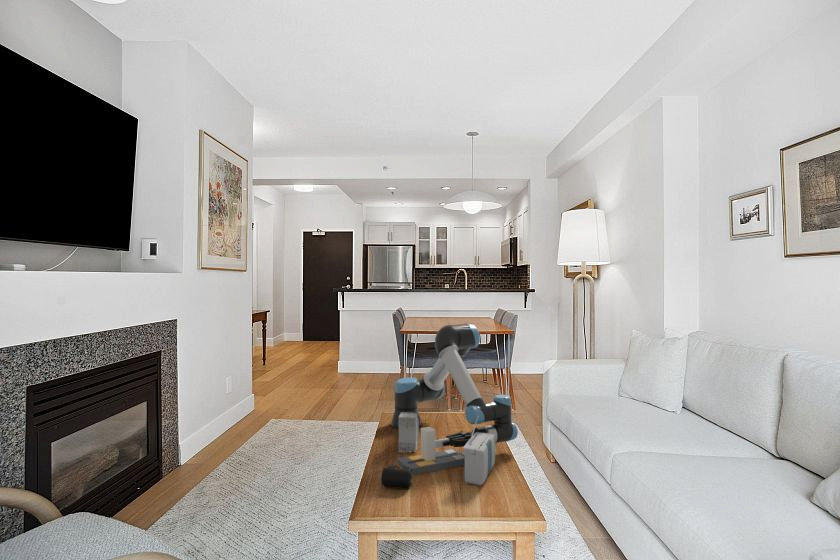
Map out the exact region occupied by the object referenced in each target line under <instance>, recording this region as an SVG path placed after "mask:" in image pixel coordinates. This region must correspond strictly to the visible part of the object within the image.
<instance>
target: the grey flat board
mask: <svg viewBox="0 0 840 560" xmlns="http://www.w3.org/2000/svg"><path fill="white" fill-rule="evenodd" d="M396 463H397V464H398V465H399V466H400V467H401V468H403V467H405V466H406V467H411V468H412V473H411V476H415V475H420V474H425V473H430V472H436V471H439V470H440V471H441V470H445V469H447V470H448V469H451V468H452V469H453V468H456V467H463V466H465V454H463V453H461V452H460V451H458V450H457V449H455V448H450V449H444V450H443V449H442V450H440V451H439V450H438V451H436V460H432V461H427V462H426V461H425V460H424V459H422V458H421V453H420V454H415V455H410V456H404V457H399V458H396ZM397 464H396V465H397ZM398 465H397V466H398ZM399 466H398V467H399ZM400 467H399V468H400ZM401 468H400V469H401Z"/></svg>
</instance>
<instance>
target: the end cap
mask: <svg viewBox="0 0 840 560" xmlns="http://www.w3.org/2000/svg"><path fill="white" fill-rule="evenodd" d="M411 473H412V468H411V467H406V466H405V467H403V468H402V469H401V468H397V465H388V466H387V467H383V468H382V471H381V478H380V481H381V485H382V486H383V487H384V488H385V487H387V488H392V489H393V488H396V489H405V490H410V488H411V487H412V484H413V483H412V480H413V475H411Z"/></svg>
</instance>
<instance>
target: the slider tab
mask: <svg viewBox="0 0 840 560" xmlns="http://www.w3.org/2000/svg"><path fill="white" fill-rule="evenodd" d="M436 432H437V430H436V429H434V428H433V427H431V426H427V427H421V428H420V454H421V458H422V459H424V460H425V461H426V462H427V461H432V460H436V452H437V451H436V449H437V448H436V440H437V439H436V438H437V437H436V434H437V433H436Z"/></svg>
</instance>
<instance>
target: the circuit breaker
mask: <svg viewBox="0 0 840 560" xmlns="http://www.w3.org/2000/svg"><path fill="white" fill-rule="evenodd" d="M418 413H419V412H418ZM418 413H409V412H401V413H400V415H399V421H398V427H399V429H398V453H405V452H409V451H411V452H412V451H413V452H415V451H416V452H417V450H418V446H419V443H418V441H419V440H418V439H419V434H420V431H419V430H420V427H419V418H418ZM401 450H402V451H401Z"/></svg>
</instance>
